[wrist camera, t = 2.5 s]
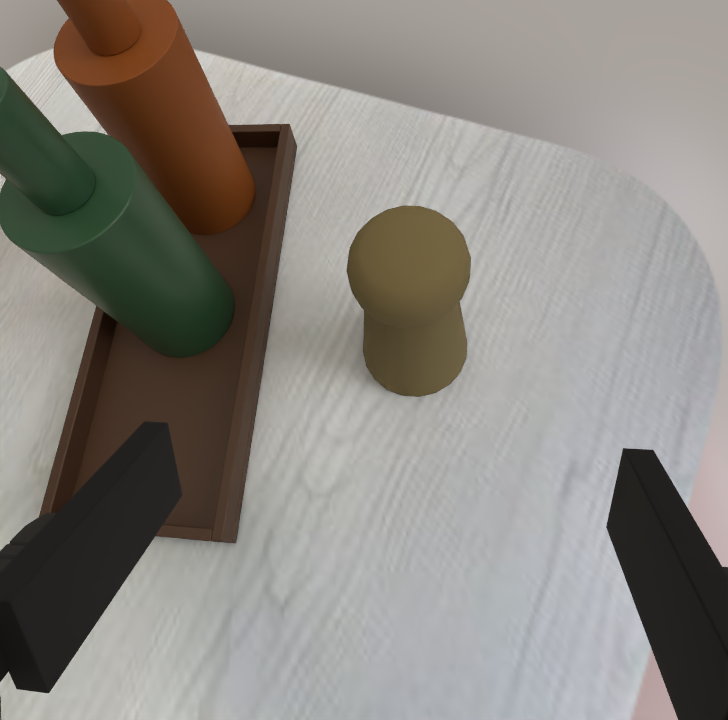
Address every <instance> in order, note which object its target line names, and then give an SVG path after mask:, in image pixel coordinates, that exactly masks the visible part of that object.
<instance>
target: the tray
mask: <svg viewBox="0 0 728 720" xmlns="http://www.w3.org/2000/svg"><path fill="white" fill-rule="evenodd" d="M229 127H230V129H231V132H232V134H233V136H234V138H235V140H236V142H237V144H238V147H239V149H240V151H241V153H242V155H243V157H244V159H245V161H246V164H247V166H248V168H249V170H250V172H251V174H252V176H253V179H254V181H255V186H256V194H255V199H254V202H253V205H252V207H251V209H250V210H249V212H248V213H247V215H246V216H245V217H244V218H243V219H242V220H241V221H240V222H239V223H237V224H236V225H235V226H233V227H231V228H230V229H228V230H225V231H223V232H220V233H216V234H211V235H198V234H193V233H190V234H191V235H192V236H193V238H194V239H195V240H196V242H197V243H198V244H199V246H200V247H201V249H202V250H203V251H204V253H205V254H206V255H207V257H208V258H209V259H210V261H211V262H212V263H213V265H214V266H215V267H216V269H217V270H218V271H219V273H220V274H221V275H222V277H223V278H224V280H225V281H226V282H227V284H228V285H229V286H230V288H231V290H232V293H233V296H234V301H235V309H234V315H233V319H232V322H231V325H230V327H229V328H228V330H227V332H226V333H225V335H224V336H223V337H222V338H221V339H220V340H219V341H218V342H217V343H216V344H215V345H214V346H212V347H211V348H210V349H208V350H206V351H204V352H202V353H200V354H197V355H194V356H190V357H179V358H178V357H170V356H166V355H164V354H161V353H159V352H158V351H156V350H155V349H153V348H152V347H151V346H149V345H148V344H147V343H145V342H144V341H143V340H141V339H140V338H139V337H137V336H136V335H135V334H133V333H132V332H131V331H129V330H128V329H127V328H125V327H124V326H123V325H121V324H120V323H119V322H117V321H116V320H115V319H113V318H112V317H111V316H109V315H108V314H107V313H105V312H104V311H103V310H101V309H100V308H99V307H98V306H96V309H95V313H94V317H93V321H92V324H91V328H90V332H89V335H88V339H87V343H86V346H85V350H84V354H83V357H82V361H81V365H80V368H79V372H78V376H77V379H76V383H75V387H74V390H73V394H72V398H71V401H70V405H69V409H68V412H67V416H66V420H65V423H64V427H63V431H62V434H61V438H60V442H59V445H58V449H57V453H56V456H55V460H54V464H53V467H52V471H51V475H50V478H49V482H48V486H47V489H46V493H45V497H44V500H43V504H42V508H41V511H40V515H39V517H40V516H42V515H43V514H45V513H47V512H49V513H57V512H58V511H59V510H60V509H61V508H62V507H63V506H64V505H65V504H66V503H67V502H68V501H69V500H70V499H71V498H72V496H73V495H74V494H75V493H76V492H77V491H78V490H79V489H80V488H81V487H82V486H83V485H84V484H85V483H86V482H87V481H88V480H89V479H90V478H91V477H92V476H93V474H94V473H95V472H96V471H97V470H98V469H99V468H100V467H101V466H102V465H103V464H104V463H105V462H106V461H107V460H108V459H109V458H110V457H111V456H112V455H113V454H114V452H115V451H116V450H117V449H118V448H119V447H120V446H121V445H122V444H123V443H124V442H125V441H126V440H127V439H128V438H129V437H130V436H131V435H132V434H133V433H134V432H135V430H136V429H137V428H138V427H139V426H140V425H141V424H142V423H143V422H144V421H149V422H166V423H168V426H169V431H170V435H171V440H172V445H173V450H174V455H175V460H176V465H177V470H178V474H179V479H180V484H181V489H182V494H183V496H182V497H181V499H180V500H179V501H178V503H177V504H176V506H175V507H174V509H173V510H172V512H171V513H170V515H169V516H168V518H167V519H166V521H165V522H164V524H163V525H162V527H161V528H160V530H159V531H158V533H157V534H156V535H155V536H160V537H171V538H182V539H193V540H204V541H215V542H227V543H236V538H237V531H238V525H239V518H240V512H241V505H242V499H243V493H244V486H245V480H246V473H247V467H248V460H249V454H250V447H251V441H252V434H253V428H254V421H255V415H256V408H257V402H258V395H259V389H260V382H261V376H262V369H263V363H264V356H265V350H266V343H267V337H268V331H269V324H270V318H271V311H272V305H273V298H274V292H275V285H276V279H277V272H278V266H279V259H280V253H281V246H282V240H283V233H284V227H285V220H286V214H287V207H288V201H289V194H290V188H291V181H292V175H293V168H294V162H295V156H296V149H297V145H296V142H295V139H294V136H293V133H292V130H291V127H290V124H263V125H229Z"/></svg>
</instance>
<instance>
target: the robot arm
mask: <svg viewBox="0 0 728 720" xmlns="http://www.w3.org/2000/svg"><path fill="white" fill-rule="evenodd" d="M182 496H183V494H182V489H181V484H180V479H179V474H178V470H177V465H176V460H175V455H174V450H173V445H172V440H171V435H170V431H169V426H168V423H166V422H149V421H144V422H143V423H142V424H141V425H140V426H139V427H138V428H137V429H136V430H135V432H134V433H133V434H132V435H131V436H130V437H129V438H128V439H127V440H126V441H125V442H124V443H123V444H122V445H121V446H120V447H119V448H118V449H117V450H116V451H115V452H114V454H113V455H112V456H111V457H110V458H109V459H108V460H107V461H106V462H105V463H104V464H103V465H102V466H101V467H100V468H99V469H98V470H97V471H96V472H95V473H94V474H93V476H92V477H91V478H90V479H89V480H88V481H87V482H86V483H85V484H84V485H83V486H82V487H81V488H80V489H79V490H78V491H77V492H76V493H75V494H74V495H73V496H72V498H71V499H70V500H69V501H68V502H67V503H66V504H65V505H64V506H63V507H62V508H61V509H60V510H59V511H58V512H57V513H49V512H47V513H45V514H43V515H42V516H40V517H39V518H37V519H35V520H34V521H32V522H31V523H29V524H27V525H26V526H25V527H24V528H23V529H22V530H21V531H20V532H19V533H18V534H17V535H16V536H15V537H14V538H13V539H12V540H11V541H10V544H7V545H6V546H5V547H4V548H3V549H2V550H1V551H0V682H1V680H2V679H3V678H4V677H5V675H6V674H7V673H8V671H9V673H10V675H11V677H12V680H13V682H14V684H15V686H16V688H17V689H20V690H28V691H35V692H43V693H49V692H50V691H51V689H52V688H53V686H54V685H55V683H56V682H57V680H58V679H59V677H60V676H61V674H62V673H63V672H64V670H65V669H66V667H67V666H68V664H69V663H70V661H71V660H72V658H73V657H74V655H75V654H76V652H77V651H78V649H79V648H80V646H81V645H82V643H83V642H84V640H85V639H86V638H87V636H88V635H89V633H90V632H91V630H92V629H93V627H94V626H95V624H96V623H97V621H98V620H99V618H100V617H101V615H102V614H103V612H104V611H105V609H106V608H107V606H108V605H109V604H110V602H111V601H112V599H113V598H114V596H115V595H116V593H117V592H118V590H119V589H120V587H121V586H122V584H123V583H124V581H125V580H126V578H127V577H128V575H129V574H130V572H131V571H132V570H133V568H134V567H135V565H136V564H137V562H138V561H139V559H140V558H141V556H142V555H143V553H144V552H145V550H146V549H147V547H148V546H149V544H150V543H151V541H152V540H153V538H154V537H155V535H156V534H157V533H158V531H159V530H160V528H161V527H162V525H163V524H164V522H165V521H166V519H167V518H168V516H169V515H170V513H171V512H172V510H173V509H174V507H175V506H176V504H177V503H178V501H179V500H180V499H181V497H182ZM606 528H607V530H608V533H609V536H610V538H611V541H612V544H613V546H614V549H615V552H616V554H617V557H618V560H619V562H620V565H621V568H622V570H623V573H624V576H625V578H626V581H627V584H628V586H629V589H630V592H631V594H632V597H633V600H634V603H635V605H636V608H637V611H638V613H639V616H640V619H641V621H642V624H643V627H644V629H645V632H646V635H647V637H648V640H649V643H650V645H651V648H652V651H653V653H654V656H655V659H656V661H657V664H658V667H659V669H660V672H661V675H662V677H663V680H664V683H665V685H666V688H667V691H668V694H669V696H670V699H671V702H672V704H673V707H674V709H675V712H676V715H677V718H678V720H728V567H722V566H721V564H720V562H719V561H718V559H717V558H716V556H715V554H714V552H713V551H712V549H711V547H710V545H709V544H708V542H707V540H706V539H705V537H704V535H703V534H702V532H701V530H700V529H699V527H698V526H697V524H696V522H695V520H694V519H693V517H692V515H691V513H690V512H689V510H688V508H687V507H686V505H685V503H684V501H683V500H682V498H681V496H680V495H679V493H678V491H677V490H676V488H675V486H674V485H673V483H672V481H671V479H670V478H669V476H668V474H667V473H666V471H665V469H664V468H663V466H662V464H661V463H660V461H659V459H658V457H657V456H656V454H655V452H654V451H653V450H643V449H626V448H623V451H622V456H621V461H620V466H619V470H618V475H617V480H616V484H615V489H614V494H613V498H612V503H611V508H610V512H609V517H608V522H607V526H606ZM0 720H1V697H0Z"/></svg>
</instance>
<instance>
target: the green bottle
mask: <svg viewBox="0 0 728 720" xmlns="http://www.w3.org/2000/svg"><path fill="white" fill-rule="evenodd" d="M0 174H1V175H2V176H4V177H5V178H6V180H5V182H4V185H3V187H2V189H1V192H0V225H1V227H2V229H3V231H4V233H5V235H6V236H7V237H8V238H9V239H10V240H11V241H12V242H13V243H14V244H15V245H17V246H18V247H19V248H21V249H22V250H23V251H25V252H26V253H27V254H29V255H30V256H31V257H33V258H34V259H35V260H37V261H38V262H39V263H41V264H42V265H43V266H45V267H46V268H47V269H48V270H50V271H51V272H52V273H54V274H55V275H56V276H58V277H59V278H60V279H62V280H63V281H64V282H66V283H67V284H68V285H70V286H71V287H72V288H74V289H75V290H76V291H78V292H79V293H80V294H82V295H83V296H84V297H86V298H87V299H88V300H90V301H91V302H92V303H94V304H95V305H96V306H98V307H99V308H100V309H101V310H103V311H104V312H105V313H107V314H108V315H109V316H111V317H112V318H113V319H115V320H116V321H117V322H119V323H120V324H121V325H123V326H124V327H125V328H127V329H128V330H129V331H131V332H132V333H133V334H135V335H136V336H137V337H139V338H140V339H141V340H143V341H144V342H145V343H147V344H148V345H149V346H151V347H152V348H153V349H155V350H156V351H158V352H159V353H161V354H164V355H166V356H170V357H178V358H179V357H190V356H194V355H197V354H200V353H202V352H204V351H206V350H208V349H210V348H211V347H212V346H214V345H215V344H216V343H217V342H218V341H219V340H220V339H221V338H222V337H223V336H224V335H225V333H226V332H227V330H228V328H229V327H230V325H231V322H232V319H233V315H234V309H235V301H234V296H233V293H232V290H231V288H230V286H229V285H228V284H227V282H226V281H225V280H224V278H223V277H222V275H221V274H220V273H219V271H218V270H217V269H216V267H215V266H214V265H213V263H212V262H211V261H210V259H209V258H208V257H207V255H206V254H205V253H204V251H203V250H202V249H201V247H200V246H199V244H198V243H197V242H196V240H195V239H194V238H193V236H192V235H191V234H190V232H189V231H188V230H187V228H186V227H185V226H184V224H183V223H182V222H181V220H180V219H179V218H178V216H177V215H176V213H175V212H174V211H173V209H172V208H171V207H170V205H169V204H168V203H167V201H166V200H165V199H164V197H163V196H162V195H161V193H160V192H159V191H158V189H157V188H156V186H155V185H154V184H153V182H152V181H151V180H150V178H149V177H148V176H147V174H146V173H145V172H144V170H143V169H142V168H141V166H140V165H139V164H138V162H137V161H136V160H135V158H134V157H133V155H132V154H131V153H130V151H129V150H128V149H127V148H126V147H125V146H124V145H123V144H122V143H121V142H119V141H118V140H117V139H115V138H113V137H111V136H108V135H105V134H102V133H97V132H74V133H69V134H65V135H61V134H60V133H59V132H58V131H57V130H56V128H55V127H54V126H53V125H52V124H51V123H50V122H49V120H48V119H47V118H46V117H45V116H44V115H43V114H42V112H41V111H40V110H39V109H38V108H37V107H36V106H35V104H34V103H33V102H32V101H31V100H30V99H29V98H28V96H27V95H26V94H25V93H24V92H23V91H22V90H21V88H20V87H19V86H18V85H17V84H16V83H15V82H14V80H13V79H12V78H11V77H10V76H9V75H8V74H7V72H6V71H5V70H4V69H3V68H1V67H0Z"/></svg>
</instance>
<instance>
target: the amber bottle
mask: <svg viewBox="0 0 728 720" xmlns="http://www.w3.org/2000/svg"><path fill="white" fill-rule="evenodd" d="M57 1H58V2H59V4H60V5H61V7H62V8H63V10H64V11H65V13H66V14H67V16H68V17H69V19H68V20H67V21H66V22H65V24H64V25H63V26H62V28H61V30H60V31H59V33H58V36H57V38H56V41H55V44H54V59H55V63H56V65H57V67H58V69H59V71H60V72H61V73H62V75H63V76H64V77H65V79H66V80H67V81H68V82H69V84H70V85H71V86H72V88H73V89H74V90H75V92H76V93H77V94H78V96H79V97H80V98H81V100H82V101H83V102H84V103H85V105H86V106H87V107H88V109H89V110H90V111H91V113H92V114H93V115H94V117H95V118H96V119H97V120H98V122H99V123H100V124H101V126H102V127H103V128H104V130H105V131H106V132H107V134H108V135H109V136H111V137H113V138H115V139H117V140H118V141H119V142H121V143H122V144H123V145H124V146H125V147H126V148H127V149H128V150H129V151H130V153H131V154H132V155H133V157H134V158H135V160H136V161H137V162H138V164H139V165H140V166H141V168H142V169H143V170H144V172H145V173H146V174H147V176H148V177H149V178H150V180H151V181H152V182H153V184H154V185H155V186H156V188H157V189H158V191H159V192H160V193H161V195H162V196H163V197H164V199H165V200H166V201H167V203H168V204H169V205H170V207H171V208H172V209H173V211H174V212H175V213H176V215H177V216H178V218H179V219H180V220H181V222H182V223H183V224H184V226H185V227H186V228H187V230H188V231H189V232H190V233H193V234H198V235H211V234H216V233H220V232H223V231H225V230H228V229H230V228H231V227H233V226H235V225H236V224H237V223H239V222H240V221H241V220H242V219H243V218H244V217H245V216H246V215H247V213H248V212H249V210H250V209H251V207H252V205H253V202H254V199H255V194H256V186H255V181H254V179H253V176H252V174H251V172H250V170H249V168H248V166H247V164H246V161H245V159H244V157H243V155H242V153H241V151H240V149H239V147H238V144H237V142H236V140H235V138H234V136H233V134H232V132H231V129H230V127H229V125H228V123H227V121H226V119H225V117H224V114H223V112H222V110H221V108H220V106H219V104H218V102H217V100H216V97H215V95H214V93H213V91H212V89H211V87H210V85H209V82H208V80H207V78H206V76H205V74H204V72H203V70H202V68H201V65H200V63H199V61H198V59H197V57H196V55H195V53H194V50H193V48H192V46H191V44H190V42H189V40H188V38H187V35H186V33H185V31H184V29H183V27H182V25H181V23H180V21H179V18H178V16H177V14H176V12H175V10H174V8H173V7H172V5H171V4H170V3H169V2H168V1H167V0H57Z"/></svg>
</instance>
